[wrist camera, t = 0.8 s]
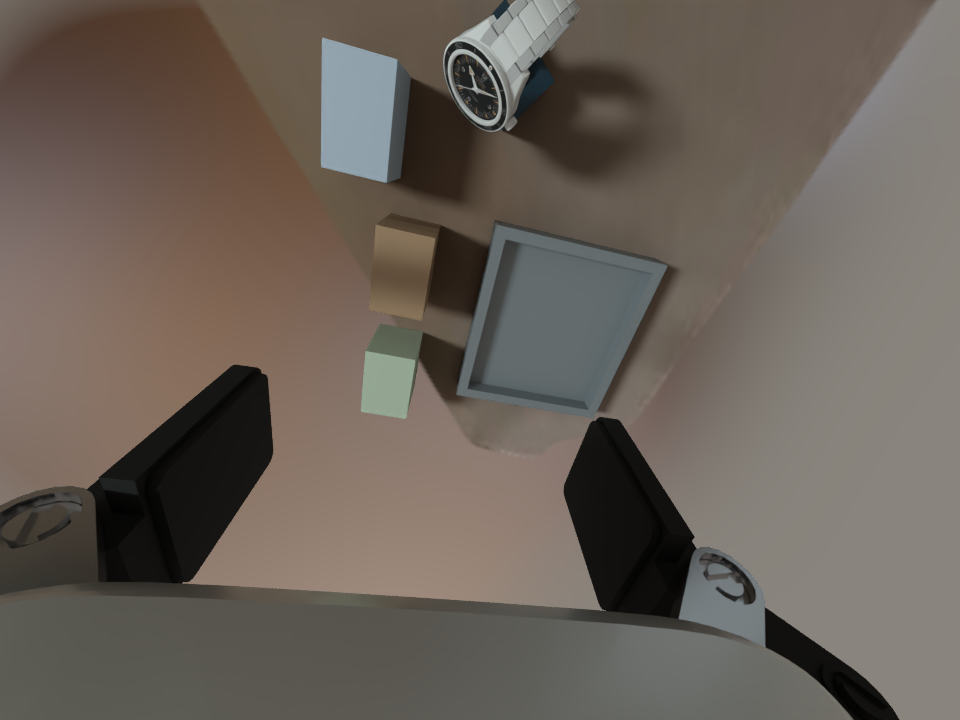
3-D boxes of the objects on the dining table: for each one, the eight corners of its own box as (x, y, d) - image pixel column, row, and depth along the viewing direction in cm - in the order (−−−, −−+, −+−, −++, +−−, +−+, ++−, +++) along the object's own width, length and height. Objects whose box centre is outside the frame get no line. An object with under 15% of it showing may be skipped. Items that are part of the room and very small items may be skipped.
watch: (438, 86, 27) (421, 50, 18) (521, -7, 25) (553, -107, 15) (485, 150, 30) (492, 148, 20) (566, 70, 27) (618, 25, 18)
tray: (495, 220, 32) (497, 224, 30) (655, 258, 34) (668, 265, 32) (457, 382, 41) (456, 394, 39) (587, 405, 43) (593, 418, 41)
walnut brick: (391, 213, 32) (375, 224, 27) (440, 224, 33) (435, 238, 27) (383, 287, 35) (369, 310, 30) (429, 296, 36) (422, 320, 31)
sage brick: (380, 323, 37) (365, 350, 32) (423, 331, 38) (415, 360, 33) (374, 378, 41) (360, 411, 35) (414, 385, 41) (406, 418, 36)
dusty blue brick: (350, 60, 27) (321, 37, 21) (411, 77, 27) (397, 59, 22) (346, 164, 30) (320, 166, 25) (400, 178, 31) (386, 182, 25)
